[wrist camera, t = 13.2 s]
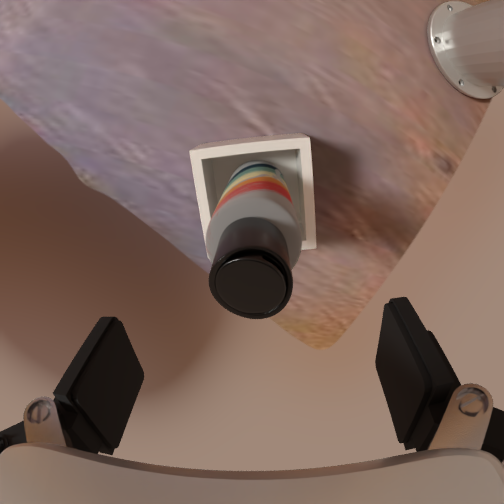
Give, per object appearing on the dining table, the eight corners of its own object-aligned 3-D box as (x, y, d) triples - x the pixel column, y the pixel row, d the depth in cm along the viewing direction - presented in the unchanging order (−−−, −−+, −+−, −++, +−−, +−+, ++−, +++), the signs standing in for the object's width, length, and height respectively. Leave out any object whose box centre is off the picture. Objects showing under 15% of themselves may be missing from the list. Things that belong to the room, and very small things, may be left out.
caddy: (301, 133, 30) (309, 137, 25) (308, 225, 35) (316, 248, 29) (202, 143, 31) (189, 150, 26) (216, 234, 35) (208, 258, 30)
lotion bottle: (297, 185, 32) (341, 288, 14) (259, 223, 34) (253, 357, 15) (256, 147, 30) (245, 200, 12) (218, 187, 32) (161, 291, 14)
